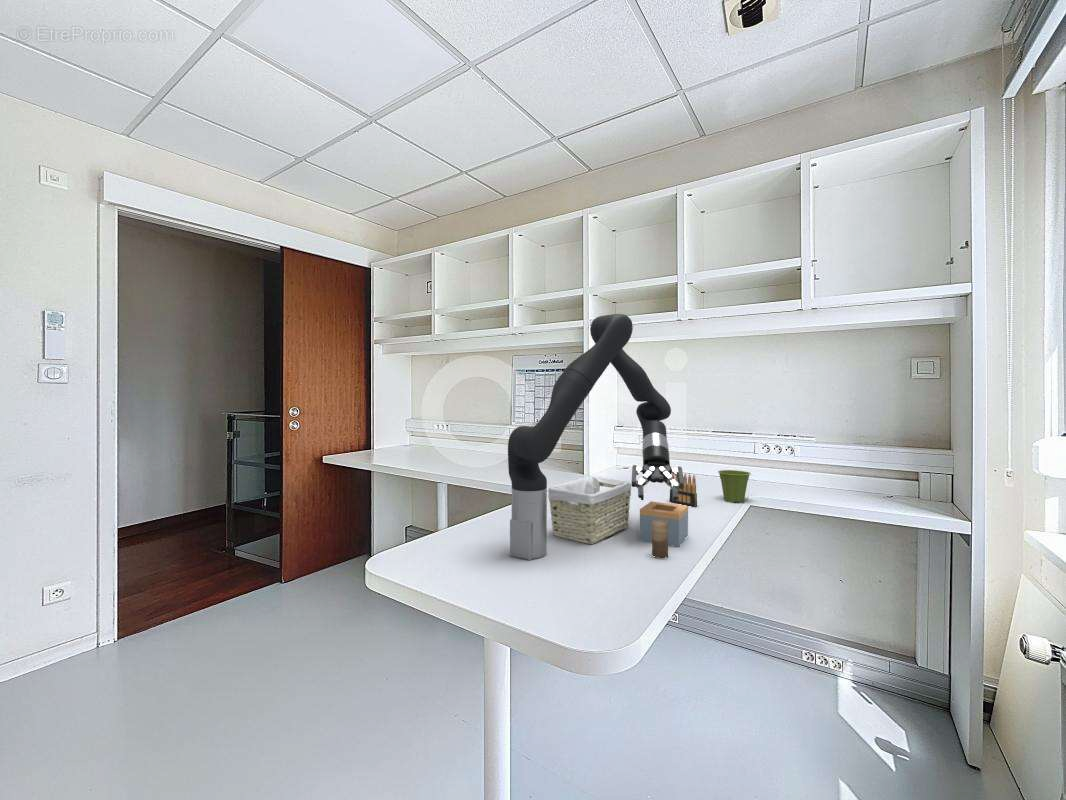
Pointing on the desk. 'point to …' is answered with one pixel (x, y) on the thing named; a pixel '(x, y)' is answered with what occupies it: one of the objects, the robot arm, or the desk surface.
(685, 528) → the sleeve
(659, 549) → the peg
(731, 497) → the plant pot
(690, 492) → the ammunition clip
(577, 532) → the storage basket
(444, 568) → the desk surface
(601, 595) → the desk surface
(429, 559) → the desk surface
